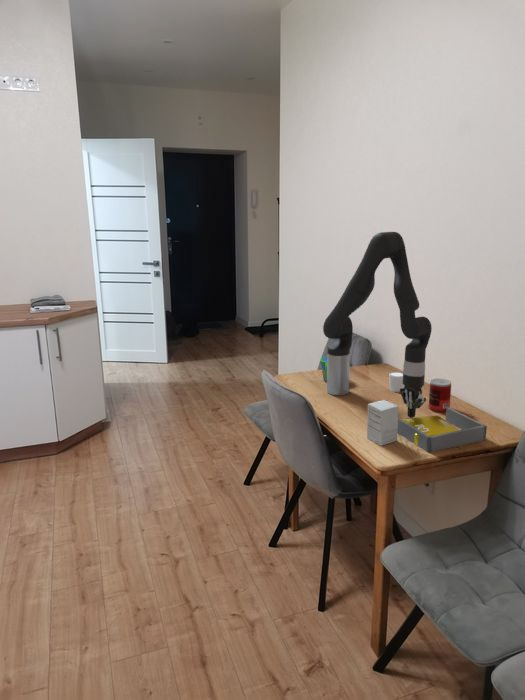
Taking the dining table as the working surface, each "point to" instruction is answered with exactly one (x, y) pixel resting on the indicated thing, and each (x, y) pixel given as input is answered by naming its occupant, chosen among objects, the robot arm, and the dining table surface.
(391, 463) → the dining table surface
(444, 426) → the element tile
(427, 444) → the box
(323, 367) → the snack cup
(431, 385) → the canned food
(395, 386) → the white piece
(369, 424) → the white rectangular box
